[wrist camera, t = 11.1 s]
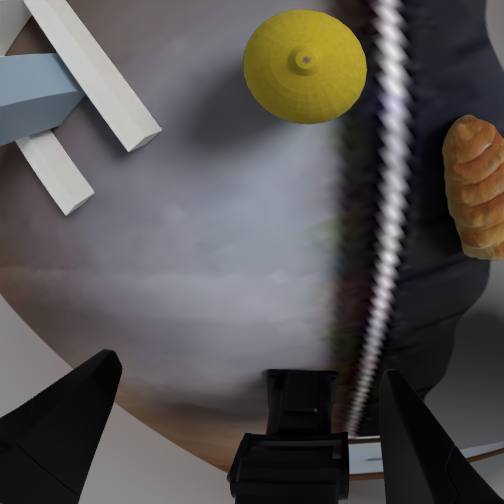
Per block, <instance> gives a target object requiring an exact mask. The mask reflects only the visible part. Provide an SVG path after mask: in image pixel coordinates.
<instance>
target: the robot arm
mask: <svg viewBox="0 0 504 504" xmlns="http://www.w3.org/2000/svg"><path fill="white" fill-rule="evenodd" d="M121 374H122V365H121V363H120V361H119V358H118V356H117V354H116V352H115V351H113V350H108V349H104V350H102V351H100V352H99V353H97V354H96V355H94V356H93V357H91V358H90V359H89V360H87V361H86V362H84V363H83V364H81V365H80V366H78V367H77V368H75V369H74V370H72V371H71V372H70V373H68V374H67V375H65V376H64V377H62V378H61V379H59V380H58V381H56V382H55V383H54V384H52V385H51V386H49V387H48V388H46V389H45V390H43V391H42V392H40V393H39V394H37V395H36V396H34V398H31V399H30V400H29V401H27V402H26V403H24V404H23V405H21V406H20V407H18V408H16V409H15V410H13V411H12V412H10V413H8V414H6V415H5V416H3V417H1V418H0V504H78V502H79V499H80V495H81V492H82V489H83V486H84V484H85V481H86V478H87V475H88V472H89V469H90V466H91V463H92V460H93V458H94V455H95V452H96V449H97V446H98V444H99V441H100V438H101V435H102V433H103V430H104V428H105V425H106V422H107V419H108V417H109V414H110V412H111V409H112V406H113V403H114V399H115V396H116V392H117V388H118V385H119V381H120V378H121ZM338 380H339V374H338V373H337V372H320V371H285V370H269V371H268V372H267V388H268V406H269V417H268V423H267V430H266V435H262V434H252V433H245V435H244V437H243V440H241V443H240V445H239V448H238V450H237V453H236V456H235V458H234V461H233V464H232V466H231V469H230V471H229V473H228V475H227V481H228V482H229V483H230V491H231V495H232V497H233V498H235V504H338V501H347V499H348V492H349V447H348V432H341V433H335V434H331V412H332V409H333V404H334V400H335V395H336V390H337V385H338ZM379 417H380V442H381V450H382V460H383V470H384V481H385V494H386V504H504V500H503V499H502V498H501V497H500V496H498V495H497V494H496V493H495V491H494V490H493V489H492V488H491V487H490V486H489V485H488V484H487V483H486V481H485V480H484V479H483V478H482V477H481V476H480V475H479V474H478V473H477V472H476V470H475V469H474V468H473V467H472V466H471V465H470V463H469V462H468V461H467V460H466V458H465V457H464V456H463V454H462V453H461V452H460V450H459V449H458V448H457V446H454V445H455V444H454V442H453V441H452V440H451V438H450V437H449V436H448V434H447V433H446V431H445V430H444V429H443V427H442V426H441V425H440V423H439V422H438V421H437V419H436V418H435V417H434V415H433V414H432V413H431V411H430V410H429V409H428V407H427V406H426V405H425V403H424V402H423V401H422V399H421V398H420V397H419V396H418V394H417V393H416V392H415V390H414V389H413V388H412V386H411V385H410V384H409V383H408V381H407V380H406V379H405V377H404V376H403V375H402V374H401V372H400V371H399V370H398V369H387V370H385V372H384V374H383V377H382V380H381V383H380V387H379Z"/></svg>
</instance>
